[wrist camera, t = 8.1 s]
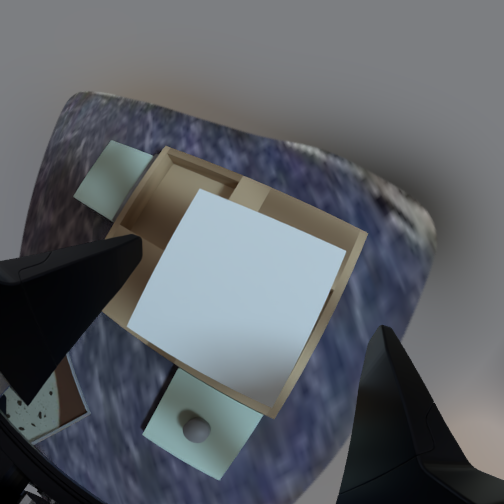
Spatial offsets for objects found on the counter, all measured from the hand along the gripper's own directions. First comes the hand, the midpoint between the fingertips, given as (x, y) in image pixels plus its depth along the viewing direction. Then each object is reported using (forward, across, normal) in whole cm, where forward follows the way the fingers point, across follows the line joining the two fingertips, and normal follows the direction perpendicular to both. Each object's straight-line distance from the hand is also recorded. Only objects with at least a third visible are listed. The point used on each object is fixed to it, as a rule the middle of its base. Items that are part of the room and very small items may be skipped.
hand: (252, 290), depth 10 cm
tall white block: (+5, 0, +6) cm, 8 cm away
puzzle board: (+5, +8, +7) cm, 11 cm away
